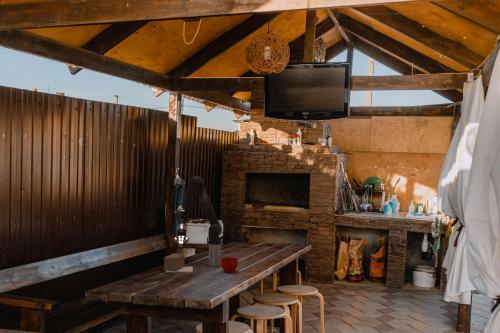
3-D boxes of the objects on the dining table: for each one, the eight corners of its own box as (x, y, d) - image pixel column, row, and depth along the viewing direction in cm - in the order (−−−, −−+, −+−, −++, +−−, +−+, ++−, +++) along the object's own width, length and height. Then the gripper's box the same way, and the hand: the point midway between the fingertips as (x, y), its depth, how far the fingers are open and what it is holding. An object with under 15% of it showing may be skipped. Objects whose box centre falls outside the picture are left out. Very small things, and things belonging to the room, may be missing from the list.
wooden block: (184, 266, 401) (176, 271, 382) (172, 265, 403) (163, 270, 384) (184, 253, 402) (176, 257, 382) (172, 253, 403) (163, 257, 384)
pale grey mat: (193, 267, 401) (193, 266, 401) (192, 272, 382) (192, 271, 382) (167, 267, 399) (167, 266, 399) (165, 272, 380) (165, 271, 380)
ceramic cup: (223, 274, 374) (224, 261, 374) (219, 270, 390) (219, 257, 390) (240, 274, 377) (241, 260, 377) (235, 270, 394) (235, 257, 394)
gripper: (173, 227, 409) (171, 245, 397) (189, 228, 411) (189, 245, 398) (173, 233, 415) (172, 251, 402) (189, 233, 416) (189, 251, 403)
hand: (180, 248), depth 400 cm, fingers closed
